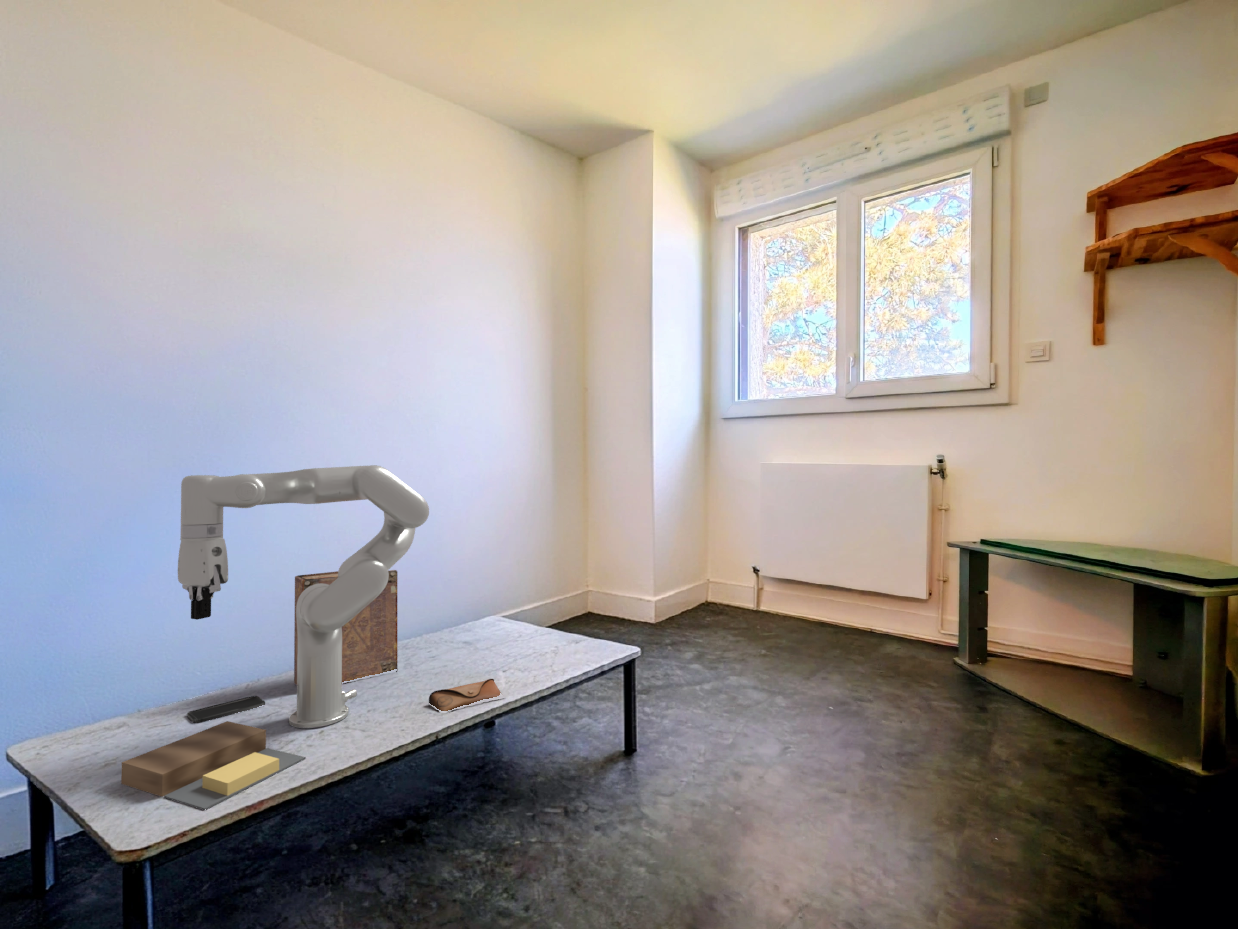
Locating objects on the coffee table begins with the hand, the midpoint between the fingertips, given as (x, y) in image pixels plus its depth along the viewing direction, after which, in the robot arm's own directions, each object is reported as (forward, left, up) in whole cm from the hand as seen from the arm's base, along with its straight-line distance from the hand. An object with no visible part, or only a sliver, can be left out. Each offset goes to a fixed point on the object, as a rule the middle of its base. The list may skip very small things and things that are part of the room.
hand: (200, 617), depth 127 cm
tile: (+7, +23, -25) cm, 34 cm away
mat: (+6, +21, -27) cm, 35 cm away
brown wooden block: (+6, +9, -27) cm, 29 cm away
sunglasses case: (-42, +39, -28) cm, 63 cm away
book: (-44, -4, -27) cm, 52 cm away
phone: (-15, -13, -28) cm, 34 cm away
